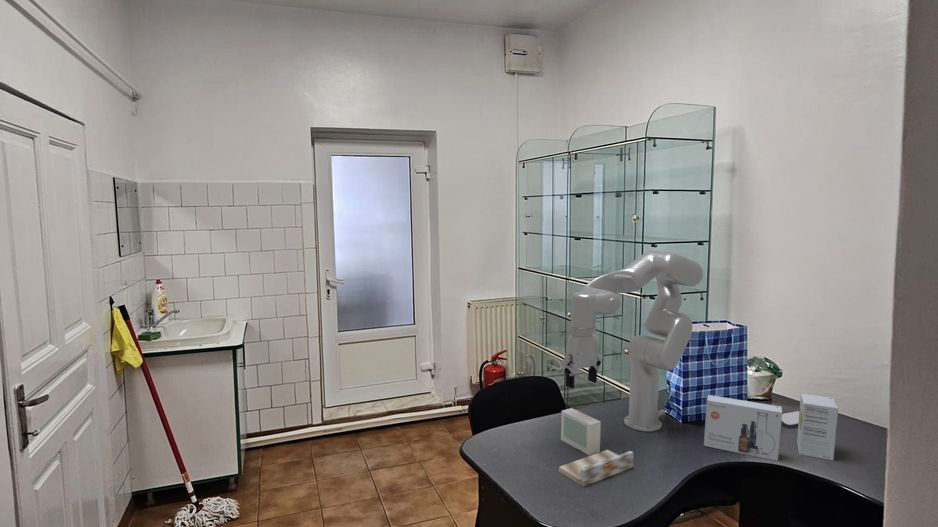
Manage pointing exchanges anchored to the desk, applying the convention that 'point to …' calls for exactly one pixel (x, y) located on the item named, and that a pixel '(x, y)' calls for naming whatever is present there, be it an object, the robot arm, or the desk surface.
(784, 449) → the desk surface
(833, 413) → the supplement box
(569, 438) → the carton
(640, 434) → the desk surface
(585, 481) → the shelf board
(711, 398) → the skincare box
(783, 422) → the phone case
